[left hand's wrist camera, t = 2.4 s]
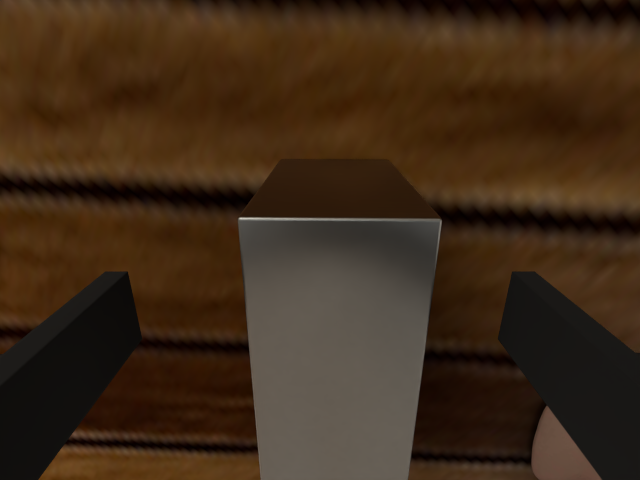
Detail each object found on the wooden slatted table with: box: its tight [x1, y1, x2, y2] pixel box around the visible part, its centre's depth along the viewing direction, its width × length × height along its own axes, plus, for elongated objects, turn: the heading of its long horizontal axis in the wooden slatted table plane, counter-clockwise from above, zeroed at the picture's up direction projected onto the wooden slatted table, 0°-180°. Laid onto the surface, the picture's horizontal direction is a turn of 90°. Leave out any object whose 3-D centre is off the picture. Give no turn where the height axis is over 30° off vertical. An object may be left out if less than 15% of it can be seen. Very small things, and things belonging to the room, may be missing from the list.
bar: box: [238, 159, 442, 480], centre depth 17 cm, size 22×5×8 cm, turn 0°
